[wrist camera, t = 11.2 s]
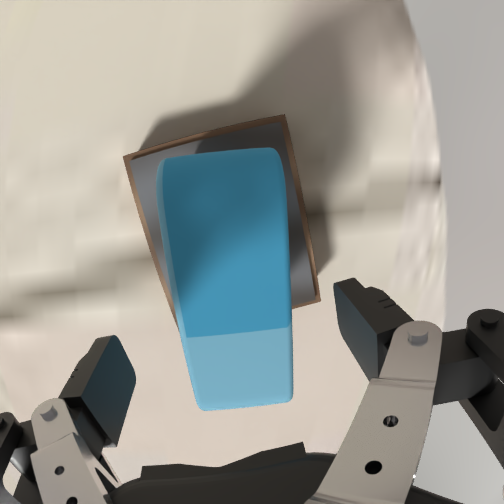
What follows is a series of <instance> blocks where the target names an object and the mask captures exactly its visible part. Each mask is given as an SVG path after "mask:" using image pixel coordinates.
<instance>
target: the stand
mask: <svg viewBox="0 0 504 504" xmlns="http://www.w3.org/2000/svg"><path fill="white" fill-rule="evenodd" d="M251 148H273V149H275V150H276V151H277V152H278V154H279V156H280V159H281V162H282V166H283V171H284V177H285V185H286V197H287V215H288V233H289V253H290V277H291V304H292V309H294V308H298V307H302V306H306V305H309V304H313V303H317V302H320V301H321V298H320V292H319V285H318V279H317V273H316V267H315V261H314V255H313V249H312V244H311V238H310V233H309V227H308V222H307V216H306V211H305V206H304V201H303V196H302V191H301V186H300V181H299V176H298V171H297V166H296V162H295V157H294V152H293V148H292V143H291V139H290V134H289V130H288V125H287V121H286V117H285V114H284V115H279V116H273V117H268V118H263V119H258V120H254V121H249V122H244V123H240V124H235V125H231V126H227V127H223V128H219V129H214V130H210V131H207V132H203V133H199V134H195V135H191V136H188V137H184V138H180V139H177V140H173V141H170V142H167V143H163V144H160V145H157V146H153V147H150V148H147V149H144V150H141V151H138V152H134V153H131V154H128V155H125V156H123V159H124V163H125V167H126V170H127V174H128V178H129V182H130V185H131V189H132V192H133V196H134V199H135V203H136V206H137V210H138V213H139V217H140V220H141V223H142V226H143V230H144V233H145V236H146V239H147V242H148V245H149V249H150V252H151V255H152V258H153V261H154V264H155V267H156V270H157V272H158V275H159V278H160V281H161V284H162V287H163V290H164V292H165V295H166V298H167V301H168V303H169V306H170V309H171V312H172V314H173V317H174V319H175V322H176V325H177V327H178V322H177V318H176V313H175V308H174V303H173V298H172V292H171V287H170V282H169V276H168V271H167V265H166V259H165V253H164V247H163V241H162V235H161V228H160V221H159V214H158V207H157V197H156V176H157V170H158V166H159V164H160V162H161V161H162V160H163V159H165V158H171V157H177V156H184V155H191V154H200V153H208V152H218V151H228V150H239V149H251ZM178 330H179V327H178Z"/></svg>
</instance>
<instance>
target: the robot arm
mask: <svg viewBox="0 0 504 504" xmlns="http://www.w3.org/2000/svg"><path fill="white" fill-rule="evenodd" d="M333 289H334V296H335V304H336V311H337V319H338V325H339V329H340V332H341V335H342V337H343V339H344V340H345V342H346V344H347V345H348V347H349V349H350V350H351V352H352V354H353V355H354V357H355V358H356V360H357V362H358V363H359V365H360V367H361V368H362V370H363V372H364V373H365V375H366V377H367V378H368V380H369V385H368V387H367V390H366V392H365V394H364V397H363V399H362V401H361V404H360V406H359V408H358V411H357V413H356V415H355V417H354V420H353V422H352V424H351V426H350V428H349V430H348V432H347V435H346V437H345V439H344V441H343V443H342V445H341V447H340V449H339V451H338V453H337V455H336V454H330V453H316V452H313V453H306V452H305V448H304V444H303V442H300V443H296V444H292V445H288V446H284V447H280V448H275V449H271V450H266V451H261V452H259V453H256V454H254V455H251V456H249V457H246V458H244V459H241V460H238V461H236V462H233V463H230V464H228V465H225V466H222V467H205V466H194V465H185V464H169V465H154V466H142V471H141V477H140V478H137V479H134V480H131V481H129V482H127V483H124V484H122V483H121V481H120V480H119V478H118V476H117V475H116V473H115V472H114V470H113V468H112V467H111V465H110V463H109V462H108V460H107V458H106V457H105V455H104V454H103V453H102V449H103V448H104V447H117V444H118V441H119V437H120V434H121V430H122V427H123V423H124V420H125V417H126V413H127V410H128V407H129V404H130V400H131V397H132V394H133V391H134V388H135V384H136V375H135V371H134V369H133V366H132V364H131V362H130V360H129V358H128V356H127V354H126V352H125V350H124V348H123V346H122V344H121V342H120V340H119V339H118V337H117V336H115V335H112V336H106V337H101V338H97V339H96V340H95V341H94V343H93V345H92V346H91V348H90V350H89V352H88V353H87V354H86V355H85V356H84V357H83V358H82V359H81V360H80V361H79V362H78V364H77V366H76V367H75V369H74V371H73V372H72V374H71V376H70V377H71V378H69V379H68V381H67V383H66V385H65V386H64V388H63V390H62V392H61V394H60V395H59V397H58V398H53V399H49V400H47V401H45V402H43V403H42V404H40V405H39V406H38V407H37V408H36V409H35V410H34V412H33V414H32V417H31V420H29V421H25V422H22V423H19V422H18V421H17V419H16V418H15V417H14V415H13V414H12V413H10V412H4V413H1V414H0V504H463V503H460V502H457V501H454V500H451V499H448V498H445V497H442V496H439V495H437V494H434V493H431V492H428V491H426V490H423V489H420V488H418V487H416V486H413V482H414V478H415V475H416V472H417V468H418V465H419V461H420V458H421V454H422V450H423V446H424V443H425V438H426V434H427V430H428V426H429V421H430V417H431V412H432V407H433V405H438V404H443V403H448V402H453V401H459V403H460V404H461V406H462V407H463V409H465V411H466V413H467V414H468V416H469V417H470V419H471V420H472V421H473V423H474V424H475V426H476V427H477V429H478V430H479V432H480V433H481V435H482V436H483V438H484V439H485V440H486V442H487V444H488V445H489V447H490V448H491V450H492V451H493V453H494V454H495V456H496V458H497V459H498V461H499V462H500V464H501V465H502V467H503V469H504V384H503V383H504V313H503V312H501V311H498V310H494V309H482V310H478V311H475V312H474V313H472V314H471V315H470V316H469V317H468V319H467V327H466V329H461V330H455V331H450V332H442V331H441V329H440V328H439V327H438V326H437V325H435V324H433V323H431V322H427V321H414V320H413V319H412V318H411V317H410V316H409V315H408V314H407V313H406V312H405V311H404V310H403V309H402V308H401V307H400V306H398V305H396V303H395V302H394V301H393V300H392V299H390V297H389V296H388V295H387V294H386V293H385V292H384V291H382V290H380V289H377V288H374V287H368V288H364V287H363V286H362V285H361V284H360V283H359V282H358V281H357V280H356V279H355V278H350V279H347V280H343V281H340V282H336V283H334V286H333ZM498 378H499V379H500V380H501V381H502V382H503V383H502V382H501V381H500V380H499V379H498ZM9 461H10V462H11V463H12V464H13V465H14V466H15V468H16V469H17V470H18V471H19V472H20V473H21V477H20V479H19V482H18V484H17V487H16V490H15V492H14V495H13V496H12V495H11V494H10V493H9V492H8V491H7V490H6V489H5V487H4V485H3V475H4V473H5V470H6V468H7V466H8V464H9ZM503 498H504V487H503Z"/></svg>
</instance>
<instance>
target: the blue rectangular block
mask: <svg viewBox="0 0 504 504" xmlns="http://www.w3.org/2000/svg"><path fill="white" fill-rule="evenodd" d="M156 197H157V207H158V214H159V221H160V228H161V235H162V241H163V247H164V253H165V259H166V265H167V271H168V276H169V282H170V287H171V292H172V298H173V303H174V308H175V313H176V318H177V322H178V327H179V332H180V336H181V341H182V345H183V350H184V354H185V358H186V363H187V367H188V371H189V375H190V379H191V383H192V387H193V391H194V395H195V399H196V402H197V404H198V406H199V408H200V409H201V410H204V411H210V410H223V409H235V408H245V407H254V406H263V405H271V404H278V403H285V402H289V401H290V400H291V399H292V397H293V339H292V304H291V277H290V253H289V233H288V215H287V197H286V185H285V177H284V171H283V166H282V162H281V159H280V156H279V154H278V152H277V151H276V150H275V149H273V148H251V149H239V150H228V151H218V152H208V153H200V154H191V155H184V156H177V157H171V158H165V159H163V160H162V161H161V162H160V164H159V166H158V170H157V176H156Z"/></svg>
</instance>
